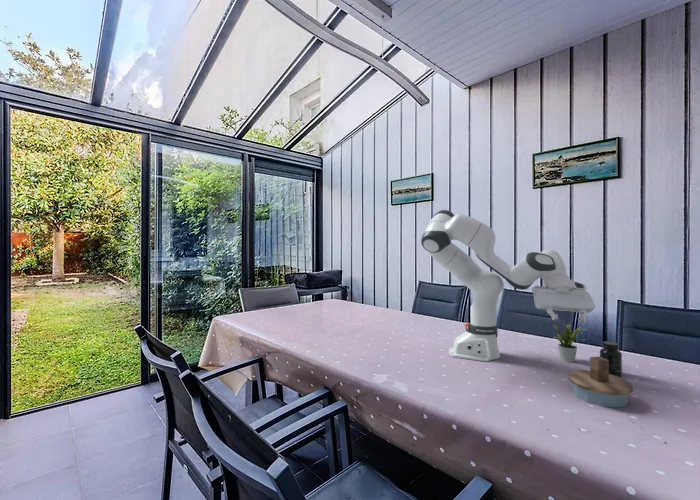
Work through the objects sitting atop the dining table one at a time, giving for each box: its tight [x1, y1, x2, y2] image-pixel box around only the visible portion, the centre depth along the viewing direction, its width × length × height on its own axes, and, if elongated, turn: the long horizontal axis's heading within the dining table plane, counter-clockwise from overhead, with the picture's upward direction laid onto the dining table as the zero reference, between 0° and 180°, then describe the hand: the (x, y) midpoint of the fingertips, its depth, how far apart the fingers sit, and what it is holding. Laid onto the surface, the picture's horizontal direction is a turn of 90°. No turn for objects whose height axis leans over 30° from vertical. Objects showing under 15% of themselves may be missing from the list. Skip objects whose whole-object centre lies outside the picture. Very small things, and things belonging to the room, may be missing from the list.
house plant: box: [552, 322, 588, 363], centre depth 144 cm, size 14×14×16 cm
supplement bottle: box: [599, 340, 623, 377], centre depth 129 cm, size 7×7×12 cm
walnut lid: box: [568, 356, 634, 395], centre depth 110 cm, size 17×17×8 cm
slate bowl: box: [572, 383, 629, 408], centre depth 110 cm, size 14×14×4 cm
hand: (569, 320), depth 121 cm, fingers open, 8 cm apart
